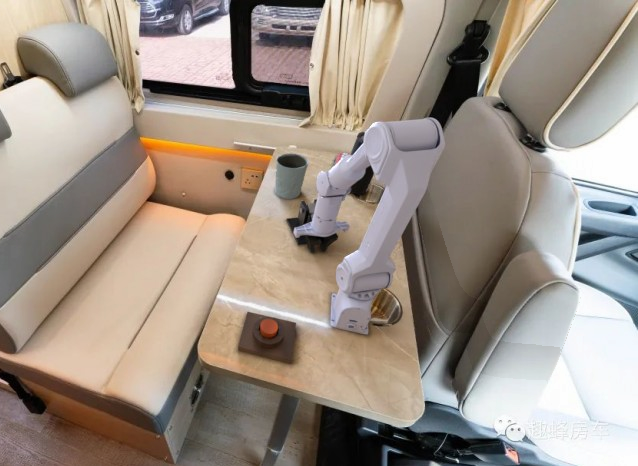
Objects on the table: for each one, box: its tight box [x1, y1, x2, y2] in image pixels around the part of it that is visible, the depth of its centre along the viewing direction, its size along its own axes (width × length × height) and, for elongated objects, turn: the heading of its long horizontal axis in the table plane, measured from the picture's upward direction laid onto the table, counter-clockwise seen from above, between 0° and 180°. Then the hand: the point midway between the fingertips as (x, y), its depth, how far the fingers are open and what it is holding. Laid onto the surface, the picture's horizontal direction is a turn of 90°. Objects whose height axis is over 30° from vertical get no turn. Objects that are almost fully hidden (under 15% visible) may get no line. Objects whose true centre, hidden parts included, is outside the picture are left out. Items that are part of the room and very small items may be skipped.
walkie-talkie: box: [333, 152, 350, 166], centre depth 124 cm, size 9×4×20 cm
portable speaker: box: [349, 131, 375, 197], centre depth 106 cm, size 9×9×20 cm
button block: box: [237, 311, 297, 365], centre depth 70 cm, size 11×9×4 cm
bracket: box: [285, 198, 317, 246], centre depth 94 cm, size 11×9×10 cm
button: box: [260, 319, 278, 338], centre depth 68 cm, size 4×4×2 cm
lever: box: [306, 202, 324, 247], centre depth 91 cm, size 12×3×3 cm
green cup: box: [274, 152, 309, 200], centre depth 109 cm, size 10×10×12 cm
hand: (315, 251), depth 92 cm, fingers open, 3 cm apart
